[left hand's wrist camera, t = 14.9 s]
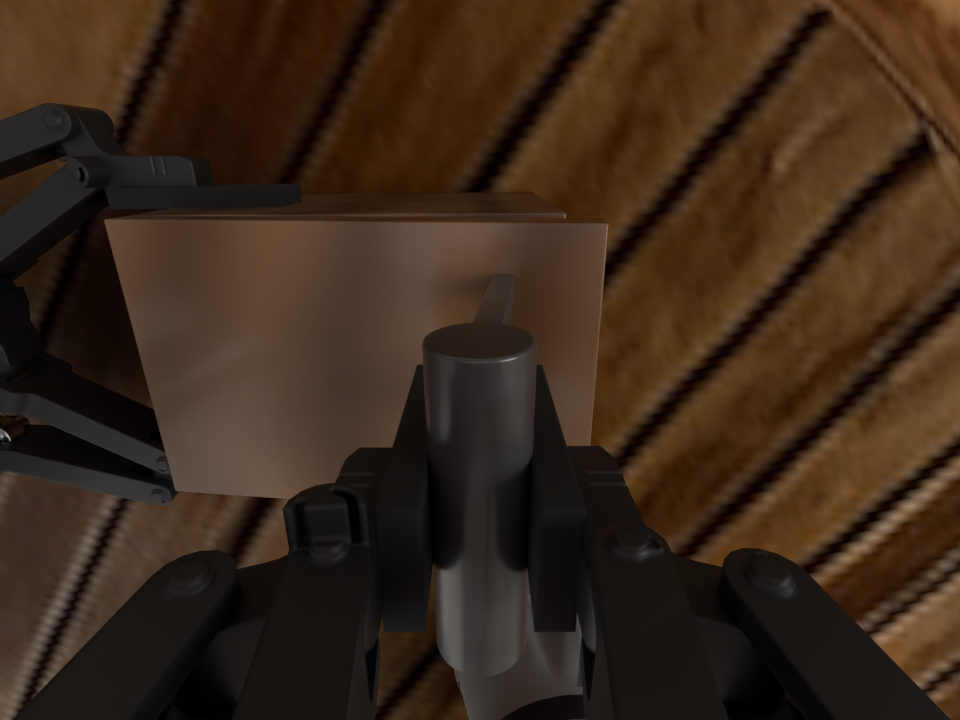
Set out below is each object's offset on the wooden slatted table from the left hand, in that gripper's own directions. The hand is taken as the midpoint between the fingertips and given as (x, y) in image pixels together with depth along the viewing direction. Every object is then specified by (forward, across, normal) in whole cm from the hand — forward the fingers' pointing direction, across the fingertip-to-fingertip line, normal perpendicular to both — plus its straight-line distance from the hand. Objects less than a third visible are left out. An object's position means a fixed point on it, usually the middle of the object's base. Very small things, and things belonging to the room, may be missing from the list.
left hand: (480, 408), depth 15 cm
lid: (+3, +4, 0) cm, 5 cm away
